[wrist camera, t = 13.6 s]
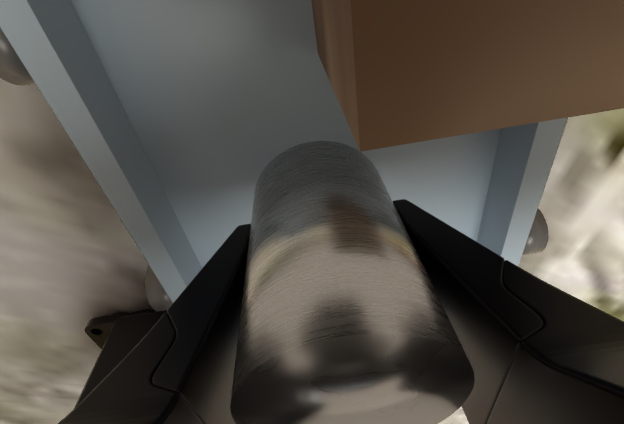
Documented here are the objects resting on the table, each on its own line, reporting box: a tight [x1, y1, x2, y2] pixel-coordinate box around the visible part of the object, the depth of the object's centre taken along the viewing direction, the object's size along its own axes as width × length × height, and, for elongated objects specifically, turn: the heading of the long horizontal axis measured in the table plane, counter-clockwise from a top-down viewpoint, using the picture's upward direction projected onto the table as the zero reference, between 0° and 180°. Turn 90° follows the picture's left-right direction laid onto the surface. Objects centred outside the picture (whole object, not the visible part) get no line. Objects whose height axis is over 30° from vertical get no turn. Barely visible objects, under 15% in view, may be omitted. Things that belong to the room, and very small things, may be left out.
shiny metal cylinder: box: [230, 141, 475, 424], centre depth 8 cm, size 4×4×6 cm
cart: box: [0, 0, 568, 311], centre depth 10 cm, size 18×15×2 cm
